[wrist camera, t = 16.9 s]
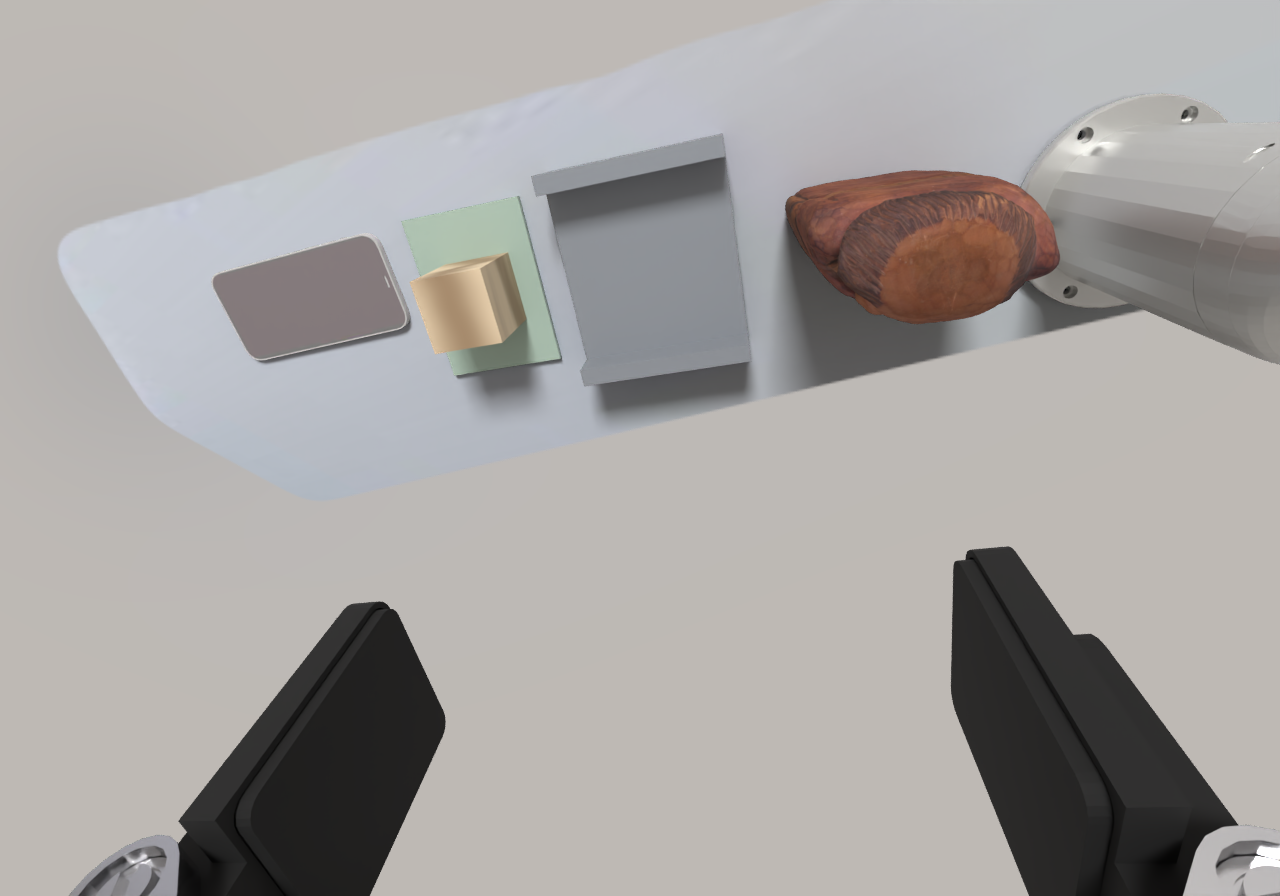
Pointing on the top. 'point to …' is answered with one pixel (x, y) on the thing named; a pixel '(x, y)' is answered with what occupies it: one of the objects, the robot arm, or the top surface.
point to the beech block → (469, 303)
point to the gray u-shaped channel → (651, 260)
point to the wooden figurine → (924, 241)
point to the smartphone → (313, 297)
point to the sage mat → (480, 237)
